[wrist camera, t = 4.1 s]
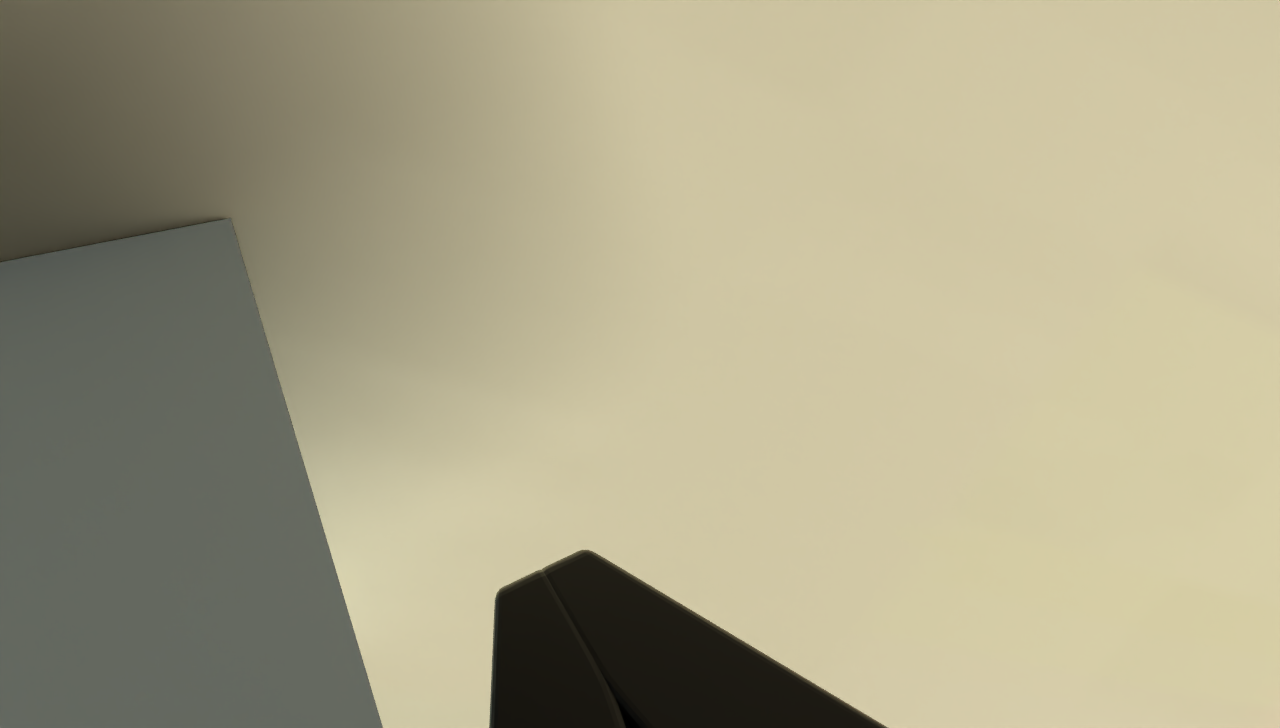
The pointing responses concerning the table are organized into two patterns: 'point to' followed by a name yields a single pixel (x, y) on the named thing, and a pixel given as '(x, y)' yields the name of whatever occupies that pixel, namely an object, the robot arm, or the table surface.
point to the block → (159, 502)
